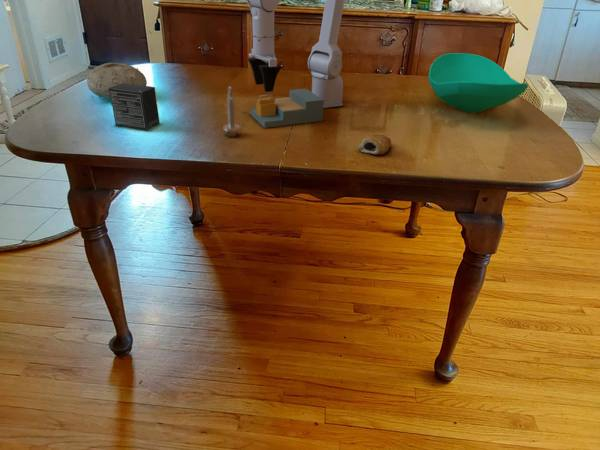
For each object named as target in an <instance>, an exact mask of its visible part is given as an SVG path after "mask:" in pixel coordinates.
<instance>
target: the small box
mask: <svg viewBox="0 0 600 450" xmlns="http://www.w3.org/2000/svg"><path fill="white" fill-rule="evenodd" d="M109 92H110V97H111V98H110V101H111V107H112V112H113V117H114V118H113V119H114V123H115V126H116V127H119V128H127V129H134V130H139V131H146V132H147V131H149V130H152V129H153V128H155V127H158V126H159V125H160V124H161V123H160V122H161V121H160V115H159V107H158V101H157V94H156V87H155V86H150V85H146V86H142V85H134V84H126V83H122V84H119V85H116V86H113V87H110V88H109Z"/></svg>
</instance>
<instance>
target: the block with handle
mask: <svg viewBox="0 0 600 450" xmlns="http://www.w3.org/2000/svg"><path fill="white" fill-rule="evenodd" d="M275 99H276V98H274V97H273V94H270V93H269V94H262V95H261V94H260V95H259V98H257V99H256V102H255V103H256V105H255V106H256V107H255V108H257V114H258V115H259V116H260V117H264V116H273V115H276V103H275Z"/></svg>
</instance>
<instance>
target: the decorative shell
mask: <svg viewBox="0 0 600 450" xmlns="http://www.w3.org/2000/svg"><path fill="white" fill-rule="evenodd" d="M122 83H126V84H134V85H142V86H147V85H148V84H147V83H148V82H147V77H146V76H145V74H144V73H143V72H142V71H140V69H139V68H138V67H137V68H136V67H134V66H133V65H130V64H127V63H124V62H122V63H120V62H113V61H111V62H106V63H103V64H100V65H98V66H95V67H94V68H93V69H91V70H89V73H88V75H87V77H86V85H87V88H88V90H89V91H90V92H91V93H92V94H94V95H96V96H97V97H100V98H103V99H111V97H110V92H109V88H110V87H113V86H116V85H119V84H122Z"/></svg>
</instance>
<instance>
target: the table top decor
mask: <svg viewBox="0 0 600 450" xmlns="http://www.w3.org/2000/svg"><path fill="white" fill-rule="evenodd" d="M428 82H429V83H428V84H429V85H430V87H431V88H432V91H433V93H434V94H435V95H436V96H437V97H438V98H439V100H440V101H441V102H443V103H445V104H447V105H448V106H449V107H452V108H454V109H456V110H458V111H460V112H465V113H477V114H478V113H482V112H484V111H486V110H489V109H493V108H497V107H499V106H503V105H506V104H508V103H509V102H511V101H513V100H515V99H517V98H518V97H520V96H521V95H522V94H523V93H525V91H526V90H527V88H528V87H529V84H528V83H524V82H521V83H520V82H519V81H517V80H515V79H514V78H512V77H511V76H510V75H509V74H508V73H507V71H506V70H505V69H504V68H503V67H501V66H500V65H499V64H498V63H496V62H495V61H493V60H491V59H489V58H487V57H485V56H482V55H478V54H473V53H467V52H466V53H463V52H450V53H443V54H441V55H440V56H438V57H437V58H436V59H434V61H433V62H432V63H431V65H430V66H429V72H428Z"/></svg>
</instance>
